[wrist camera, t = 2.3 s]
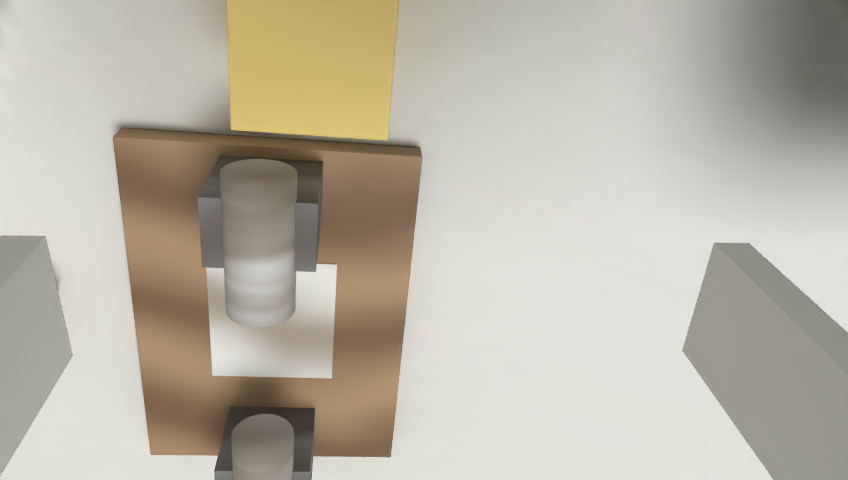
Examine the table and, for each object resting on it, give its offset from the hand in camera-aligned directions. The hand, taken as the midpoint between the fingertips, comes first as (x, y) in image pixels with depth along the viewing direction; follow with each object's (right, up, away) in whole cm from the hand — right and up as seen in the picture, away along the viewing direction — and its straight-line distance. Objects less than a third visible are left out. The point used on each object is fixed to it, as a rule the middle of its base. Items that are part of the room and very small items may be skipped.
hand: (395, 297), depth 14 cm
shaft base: (-7, -2, +20) cm, 22 cm away
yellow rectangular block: (-3, +10, +14) cm, 18 cm away
